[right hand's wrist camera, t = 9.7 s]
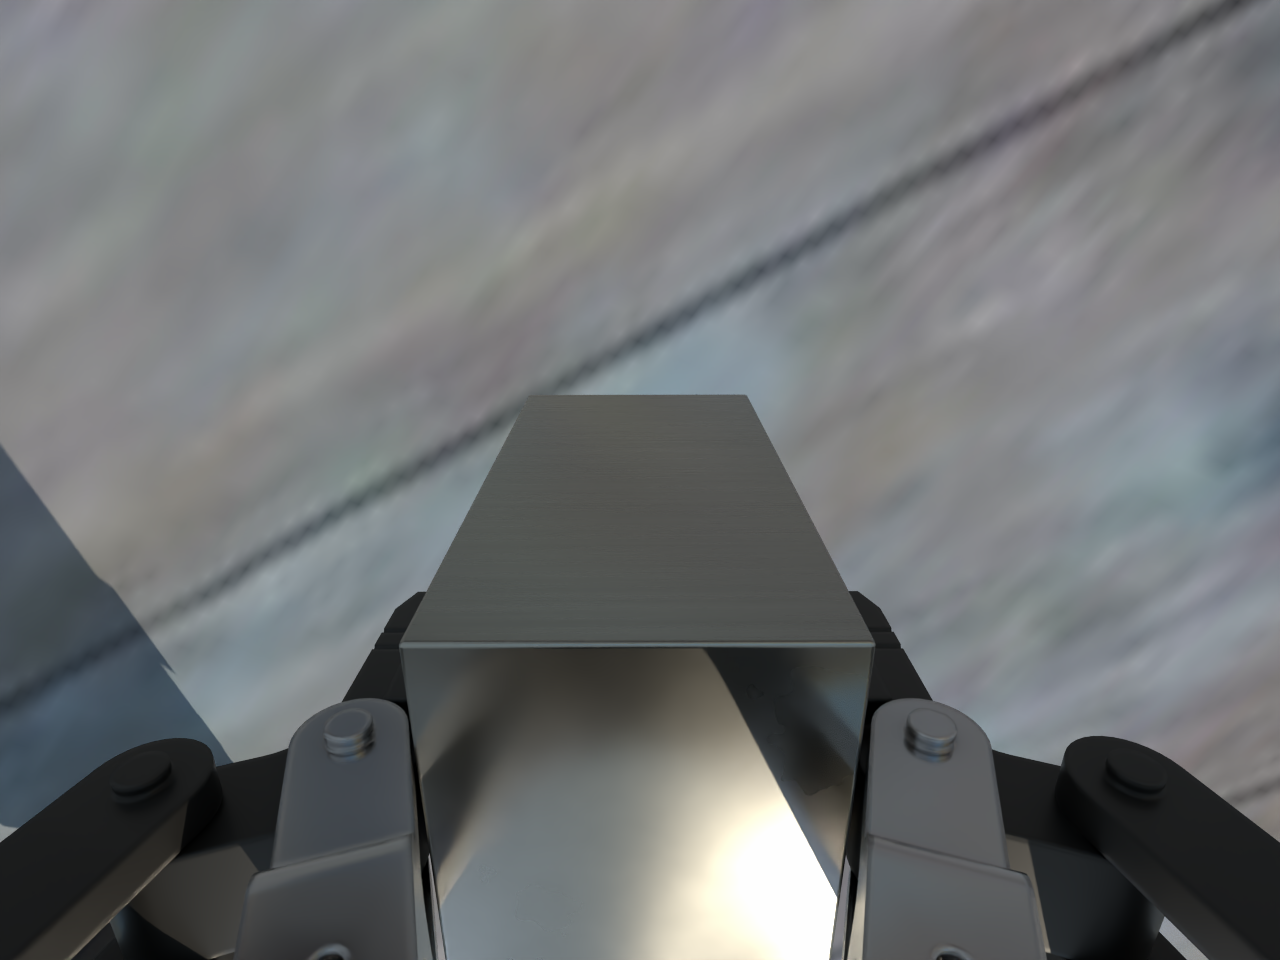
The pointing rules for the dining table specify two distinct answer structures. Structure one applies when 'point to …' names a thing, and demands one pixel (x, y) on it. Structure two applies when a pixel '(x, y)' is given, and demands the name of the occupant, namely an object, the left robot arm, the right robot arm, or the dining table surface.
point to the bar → (637, 694)
